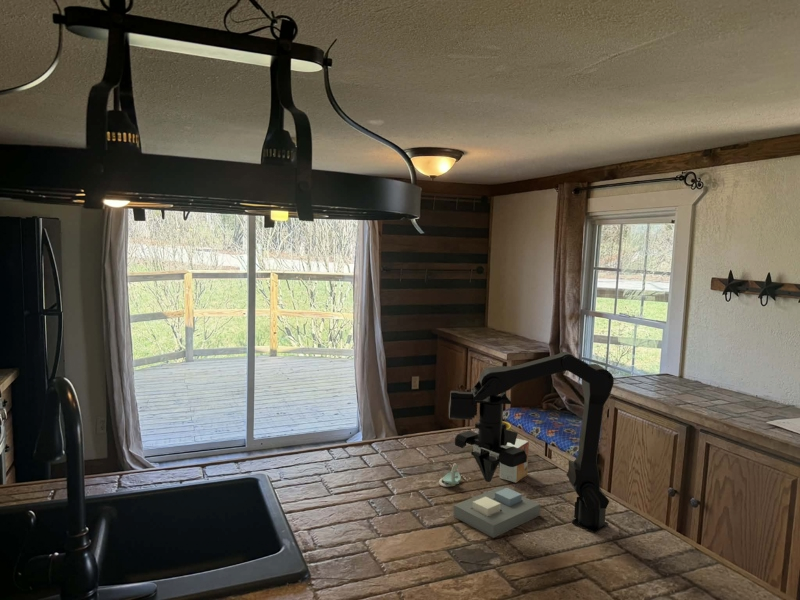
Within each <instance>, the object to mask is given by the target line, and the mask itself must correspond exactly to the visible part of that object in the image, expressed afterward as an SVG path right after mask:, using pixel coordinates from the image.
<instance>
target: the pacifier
mask: <svg viewBox="0 0 800 600" xmlns="http://www.w3.org/2000/svg"><path fill="white" fill-rule="evenodd" d="M461 477H462V476H461V474H460V473H459V472H458V464H457V463H455V462H454V463H453V465H452V468H451V470H450V472H449V471H448V473H446V474H445V475H444V476H443V477H441V478H440V479H439V481H438V484H439V486H441V487H444V488H448V487H455V486H456V485H458V484H460V481H461V479H462V478H461ZM443 482H444V483H443Z"/></svg>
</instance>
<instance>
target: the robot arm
mask: <svg viewBox="0 0 800 600" xmlns="http://www.w3.org/2000/svg"><path fill="white" fill-rule="evenodd" d="M563 372H570V373H571V374H573V375H574V376H576V377H577V378H579V379H581V387H582V388H581V389H582V393H583V399H584V405H583V411H582V418H581V420H582V421H581V428H580V429H581V430H580V437H579V444H578V445H579V446H578V453H577V457H576V458H575V460H574V461H572V460H568V470H567V473H566V476H567V478H568V480H569V483H570V485H571V486H572V488H573V490H574V492H575V493H576V494H577V497H576V501H575V502H574V508H573V509H574V510H573V511H574V512H573V513H574V515H573V517H574V519H572V520H571V523H572V524H573V525H575V526H578V527H579V528H580V527H581V528H582V529H584V530H586V531H589V532H591V533H594V534H596V533H599V532H600V531H602V530H603V529H604V528H607V527H608V526H609V523H608V522H607V521H606V515H607V514H606V512H607V507H608V506H609V503H610V500H609V498H608V497H607V496H606V494H605V493H604V492H603V490H602V489H601V484H600V472H599V469H598V468H599V467H598V461H597V459H598V453H599V445H600V437H601V430H602V424H603V423H602V422H603V416H604V415H603V413H604V407H605V404H606V403H607V401H608V399H609V398H610V396H611V393H612V389H613V387H614V383H615V379H614V378H615V377H614V376H613V375H612V373H611V372H610V371H608V370H607V369H605V368H604V367H603V366H601V365H600V364H597V363H591V364H589V363H588V362H586V361H584V360H582V359H580V358H579V357H575V356H574V355H573V354H572V353H570V352H568V351H561V352H559V353H558V354H553V355H549V356H546V357H542V358H538V359H535V360H531V361H528V362H524V363H521V364H518V365H511V366H507V365H506V366H505V365H502V366H501V365H500V366H491V367H486V368H484V369H483V370H482V371H481V372H480V374H479V377H478V381H477V382H476V384H474V386H472V388H471V391H457V390H450V393H449V394H450V395H449V401H448V418H449V420H467V421H468V420H469V421H472V420H473V419H475V417H476V416H477V415H478V422H477V423H475V425H474V428H475V429H477V431H478V433H477V432H474V431H471V430H467V431H463V432H461V433H457V434H456V436H455V437H454V446H456V447H458V448H462V449H464V448H465V447H467V445H468V444H469V445H471V446H472V448H473V451H471V452H470V453H471V456H473V458H474V459H475V461H476V463H477V465H478V468H479V469H480V472H481V473H482V476H483V479H484V481H485V482H486V483H490V482H492V479H493V476H494V475H495V472H496V470H497V468H498V466H499V465H500V463H501V464H504V465H506V466H509V467H515V466H517V465H520V464H523V463H525V462H527V453H526V452H525V451H524V450H522V449H519V448H516V447H510V448H507V449H506V448H503V447H501V446H502V445H503V446H505V445H507V443H511V444H513V445H515V442H516V438H517V439H518V434H519V432H517V431H513V430H512V429H511V430H508V429H506V424H503V423H502V421H503V417H504V416H503V415H504V412H503V411H504V405H511V404H512V400H511V398H510V397H509V396H508V395H507V394H506V392H507V391H510V390H512V389H513V388H515V386H518V385H519V384H521V383H525V382H530V381H533V380H536V379H540V378H544V377H547V376H551V375H555V374H558V373H563ZM478 404H479V408H478ZM478 411H479V412H478Z"/></svg>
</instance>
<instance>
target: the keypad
mask: <svg viewBox="0 0 800 600" xmlns="http://www.w3.org/2000/svg"><path fill="white" fill-rule="evenodd" d="M505 488H506V487H502V486H498V487H495V488H493V489H490V490H489V491H485V492H483V493H480V494H478V495H475V496H473V497H471V498H468V499H465V500H463V501H461V502H459V503H456V504H454V505H453V517H454V518H455V519H457V520H460V521H461V522H463V523H464V524H466V525H468V526H470V527H472V528H475V529H476V530H478V531H480V532H482V533H483V534H486V535H487V536H488V537H491V538H492V539H493V538H497V537H498V536H500V535H503V534H505V533H507V532H509V531H511V530H512V529H515V528H516V527H519V526H521V525H523V524H525V523H527V522H529V521H531V520H534V519H535V518H537V517H540V515H541V503H539V502H537V501H534V500H532V499H529V498H528V497H526V496H523V495H522V499H521V502H520V503H518V504H516V505H513V506H511V507H508V506H506V505H504V504H502V503H500V502H498V501H496V500H495V492H498V491H500V490H503V489H505ZM483 497H488V498H490V499H492V500H494V501H496V502H498V503H500V512H498V513H495V514H493V515H491V516H489V517H486V516H484V515H482V514H481V513H479V512H477V511H475V510H473V501H476V500H478V499H481V498H483Z"/></svg>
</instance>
